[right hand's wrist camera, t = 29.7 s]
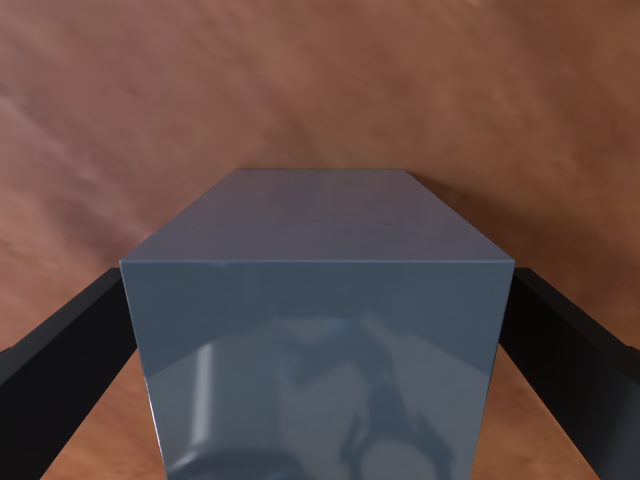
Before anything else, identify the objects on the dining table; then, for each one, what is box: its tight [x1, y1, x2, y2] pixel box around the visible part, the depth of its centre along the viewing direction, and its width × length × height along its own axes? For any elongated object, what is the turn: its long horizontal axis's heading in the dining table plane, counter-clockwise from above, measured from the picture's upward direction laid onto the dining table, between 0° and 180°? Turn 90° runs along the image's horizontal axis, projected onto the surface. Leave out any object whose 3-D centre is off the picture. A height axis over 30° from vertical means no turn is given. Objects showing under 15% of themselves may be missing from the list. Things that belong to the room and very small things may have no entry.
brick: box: [119, 169, 515, 480], centre depth 11 cm, size 8×6×8 cm
